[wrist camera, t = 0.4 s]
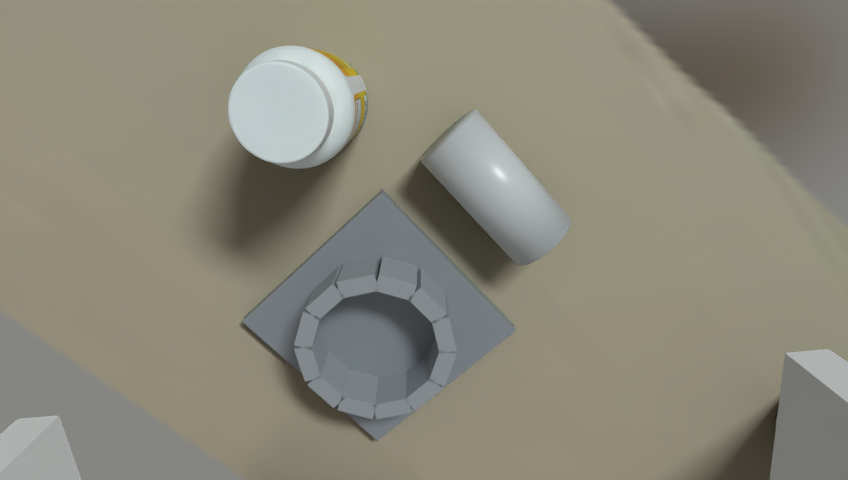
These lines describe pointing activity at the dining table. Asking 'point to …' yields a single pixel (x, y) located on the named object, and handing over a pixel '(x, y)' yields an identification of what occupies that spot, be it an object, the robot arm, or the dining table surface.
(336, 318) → the coupling socket
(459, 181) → the pipe stub
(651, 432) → the dining table surface
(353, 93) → the supplement bottle
